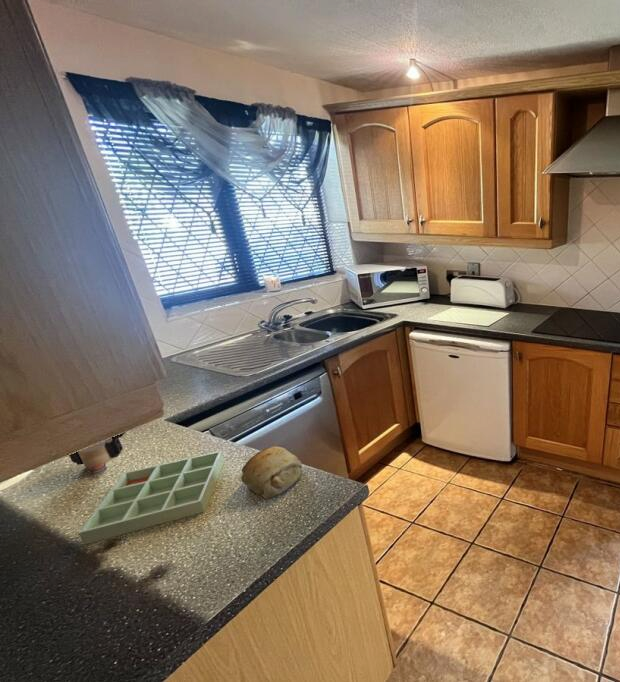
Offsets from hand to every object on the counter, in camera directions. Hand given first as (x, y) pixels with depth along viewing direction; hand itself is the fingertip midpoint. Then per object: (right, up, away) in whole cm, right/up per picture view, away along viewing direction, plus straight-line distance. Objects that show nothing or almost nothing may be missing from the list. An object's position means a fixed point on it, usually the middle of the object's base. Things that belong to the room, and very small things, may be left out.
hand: (99, 458), depth 78 cm
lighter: (-24, -9, +21) cm, 33 cm away
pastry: (+26, -10, +15) cm, 32 cm away
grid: (+3, -12, +11) cm, 17 cm away
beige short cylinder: (0, 0, 0) cm, 0 cm away
